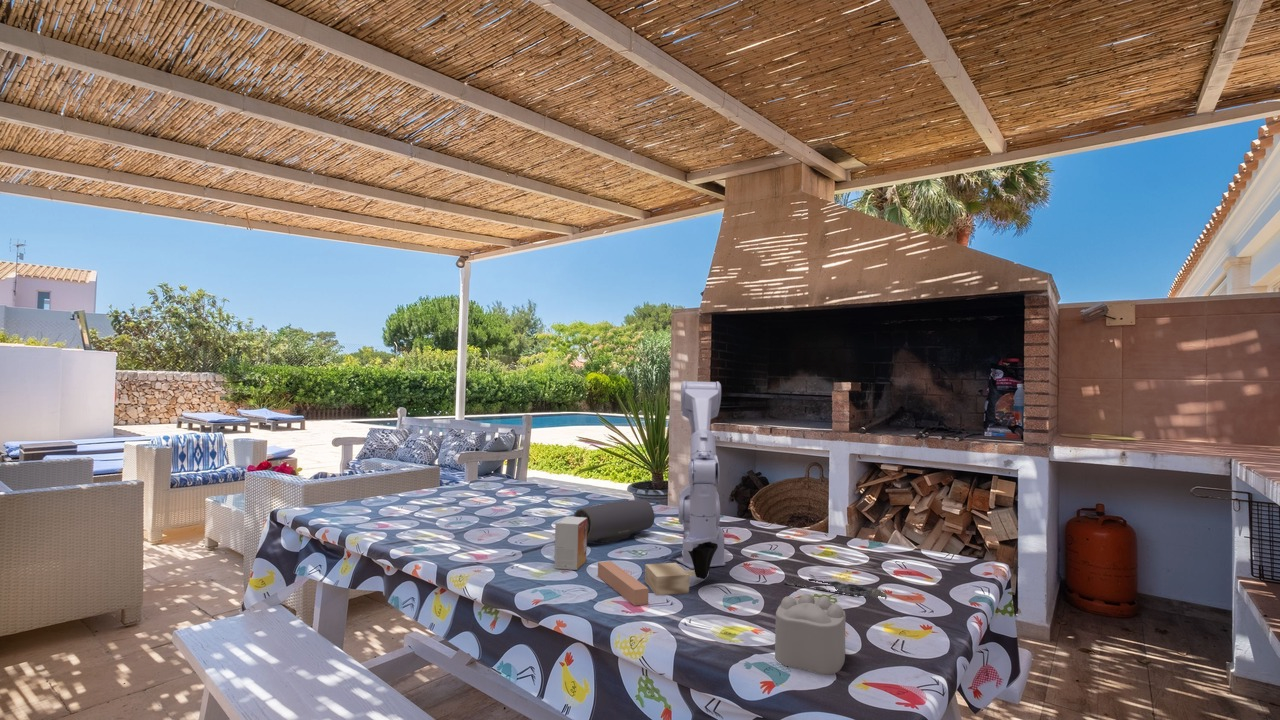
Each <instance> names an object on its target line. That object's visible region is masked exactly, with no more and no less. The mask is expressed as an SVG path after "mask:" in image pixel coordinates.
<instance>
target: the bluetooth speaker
mask: <svg viewBox="0 0 1280 720" xmlns="http://www.w3.org/2000/svg"><path fill="white" fill-rule="evenodd" d="M573 517H584V518H588V520H587V542H588V541H596V540H597V542H599V541H600V542H599V543H608V542H607V541H610V542H614V541H613V540H615V541H620V540H624V539H628V537H629V538H630V537H631V535H632V534H636V533H638V532H642V531H646V530H647V529H648V530H649V529H650V528H651V527H652V526H653V525H654V522H655V512H654V509H653V507H652V504H651V502H649V501H648V500H645V499H632V500H630V499H629V500H622V501H611V502H608V503H600V504H595V505H590V506H586V507H582V508H578V509H577V510H576V511H575V513H574V515H573ZM619 539H620V540H619Z"/></svg>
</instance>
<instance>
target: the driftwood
mask: <svg viewBox="0 0 1280 720" xmlns="http://www.w3.org/2000/svg"><path fill="white" fill-rule="evenodd" d="M808 580H809V581H815V582H816V581H818V582H822V583H828V584H830V585H832V586H834V587H835V589H836V590H837V589H838V590H837V591H835V592H833V593H835V594H839V593H845V594H846V596H850V595H857V596H864V597H867V596H869V597H867V598H870V597H873V596H875V597H878V596H881V597H885V598H886V599H887V595H886V592H884V591H883V592H884V593H883V592H881V591H882V590H881V589H878V588H873V587H867V586H863V585H859V584H855V583H847V584H846V583H844V582H840V581H836V580H831V581H830V580H829V581H827V580H819V579H815V578H808ZM823 581H824V582H823ZM783 582H784V583H785V584H787V585H790V586H795V585H794V583H795V582H794V583H792V582H789V581H788V580H783ZM802 585H804V586H805V587H804V586H802ZM795 587H802V588H805V589H806V588H807V589H810V588H809V587H811V586H810V585H806V584H798V583H797V586H795ZM813 588H816V589H815V590H821V591H826V592H829V591H828V590H827V589H826V587H825V588H824V587H822V586H814V587H813ZM838 592H839V593H838ZM849 594H850V595H849Z"/></svg>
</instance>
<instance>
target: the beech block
mask: <svg viewBox="0 0 1280 720" xmlns="http://www.w3.org/2000/svg"><path fill="white" fill-rule="evenodd" d="M644 569H645V571H644V582H645V584H646V585H647V586H648V588H650V589H651V591H652V592H653V593H654V595H656V596H664V595H681V594H683V595H684V594H689V593H690V574H689V573H688V572H687V571H686V570H684V569H683V568H682V567H681V565H679V564H678V563H677V562H664V563H663V562H662V563H646V564H644Z"/></svg>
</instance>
